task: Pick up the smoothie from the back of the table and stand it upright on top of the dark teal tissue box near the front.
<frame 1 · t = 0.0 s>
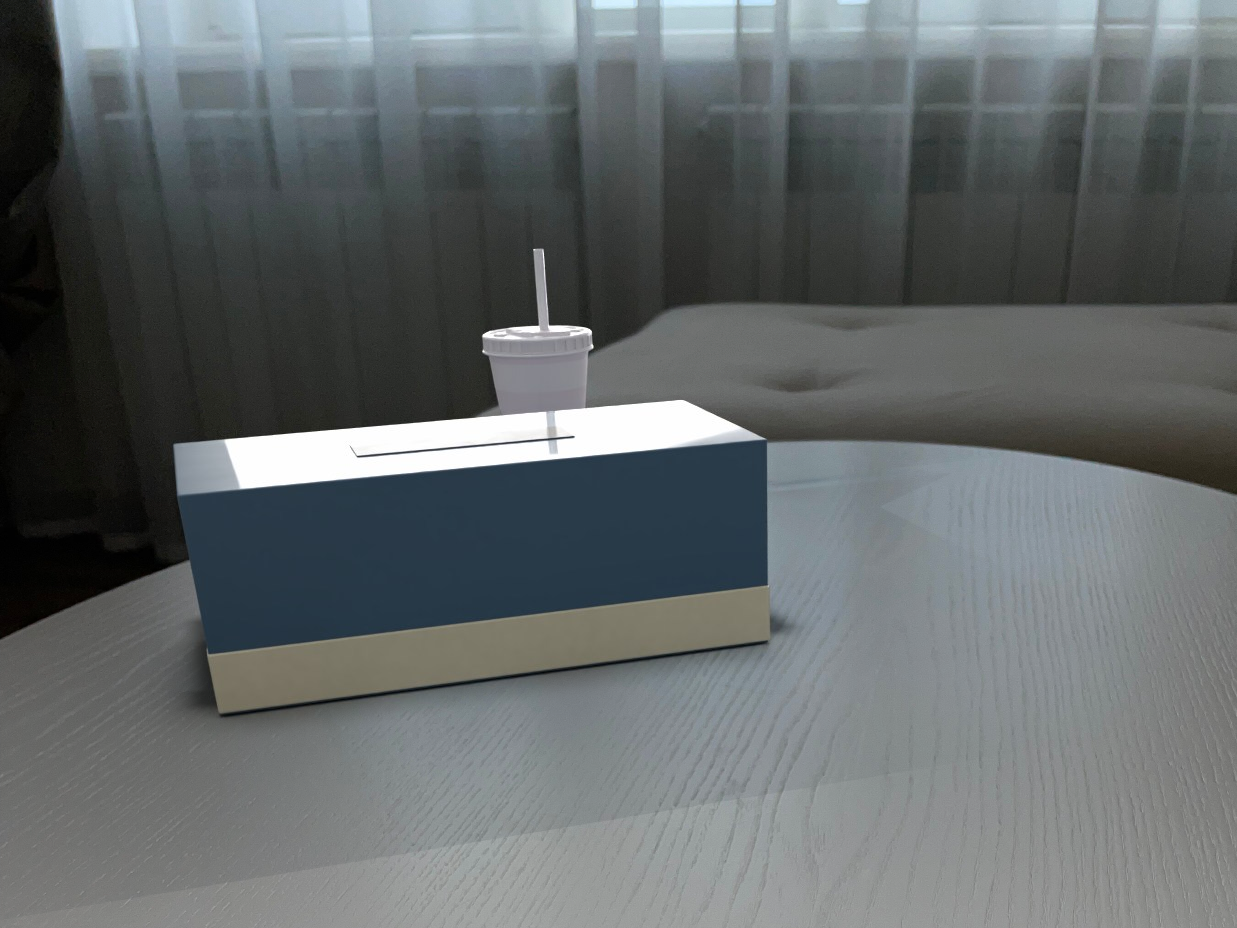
tissue box: (482, 639, 64), on the table
smoothie: (549, 506, 88), on the table
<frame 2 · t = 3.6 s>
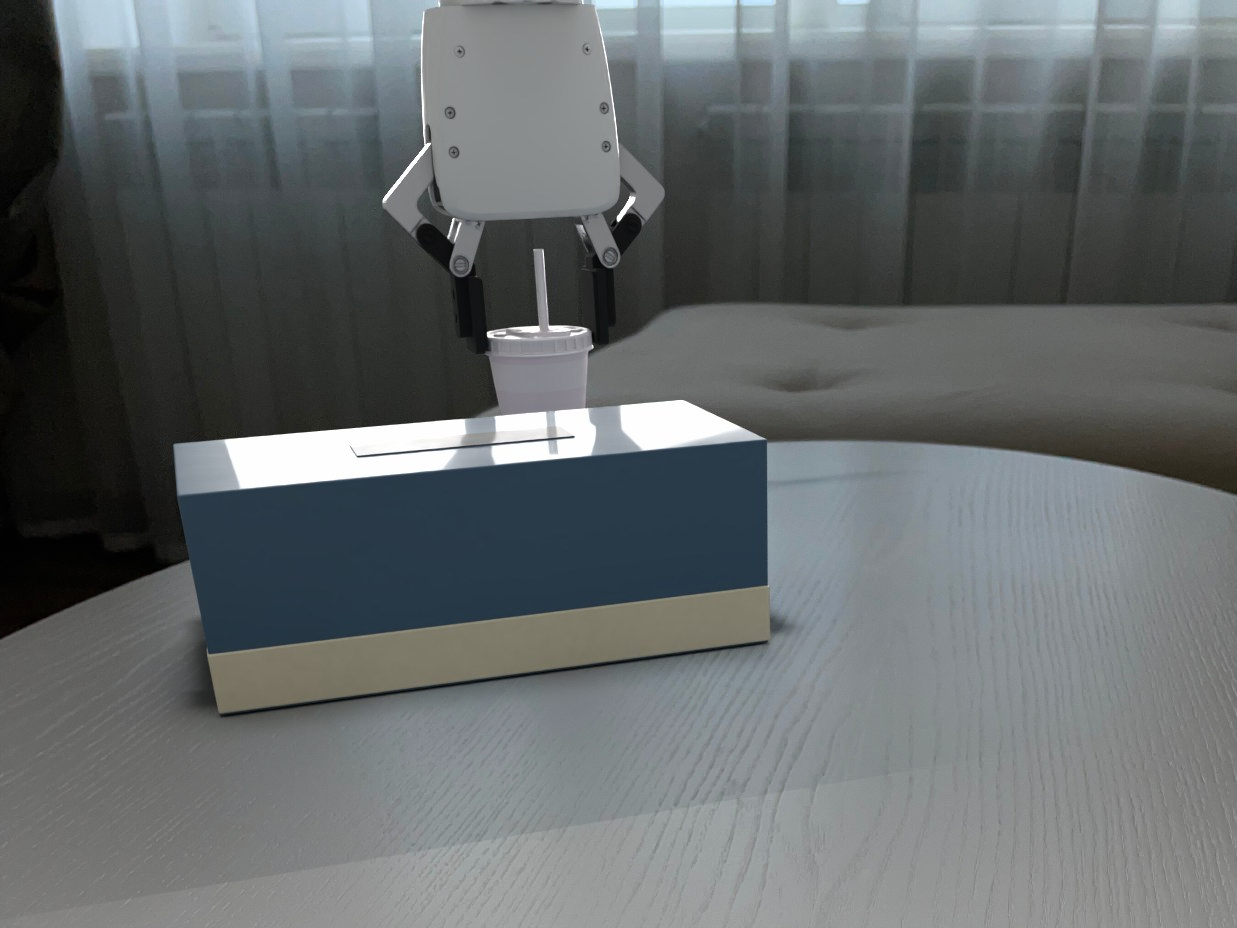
hand: (537, 343, 83), 9 cm above the table, tool pointing down, fingers closed on smoothie, 6 cm apart
smoothie: (549, 506, 88), on the table, touching gripper
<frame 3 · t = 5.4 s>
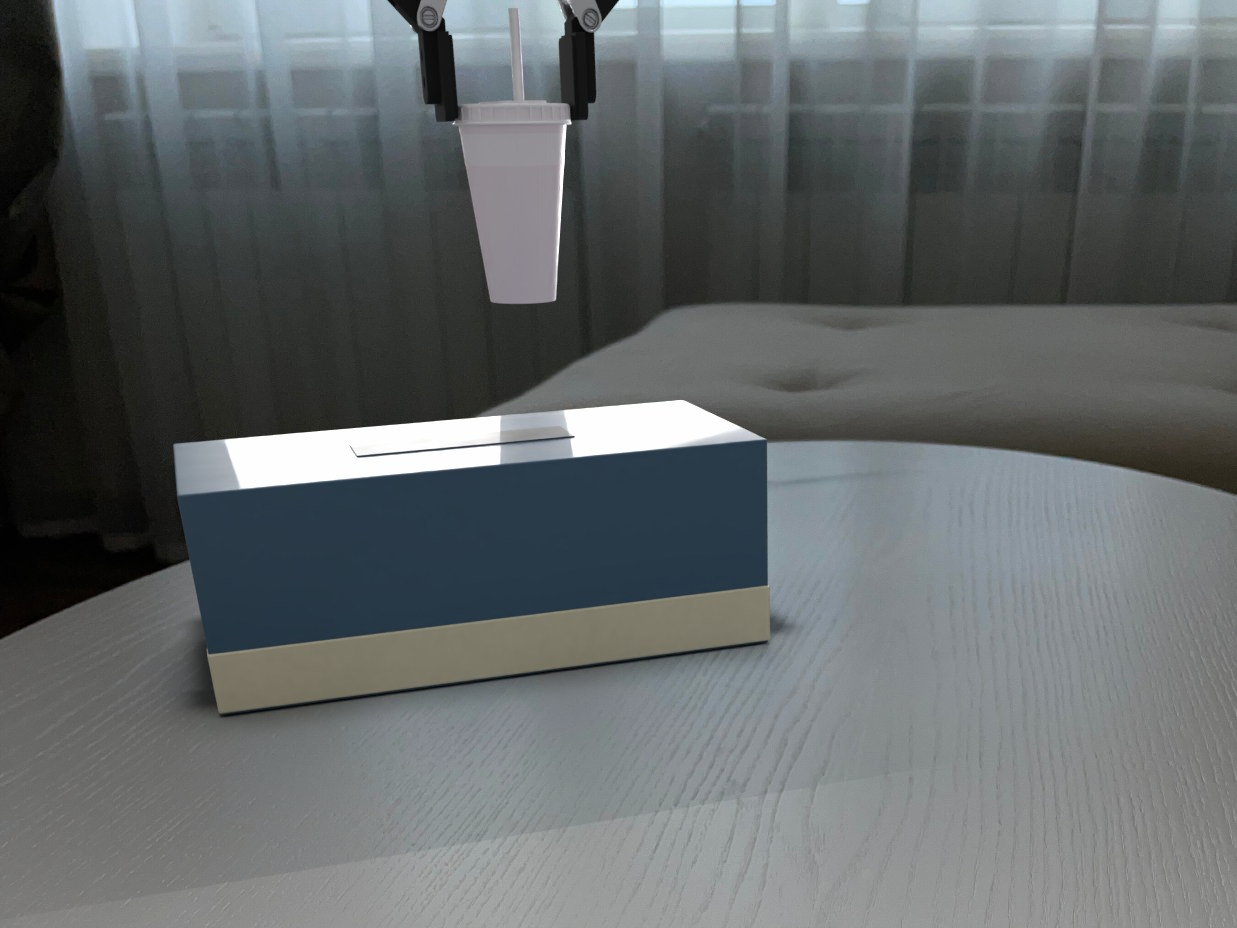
hand: (511, 116, 78), 20 cm above the table, tool pointing down, fingers closed on smoothie, 6 cm apart
smoothie: (523, 304, 82), point 11 cm above the table, touching gripper
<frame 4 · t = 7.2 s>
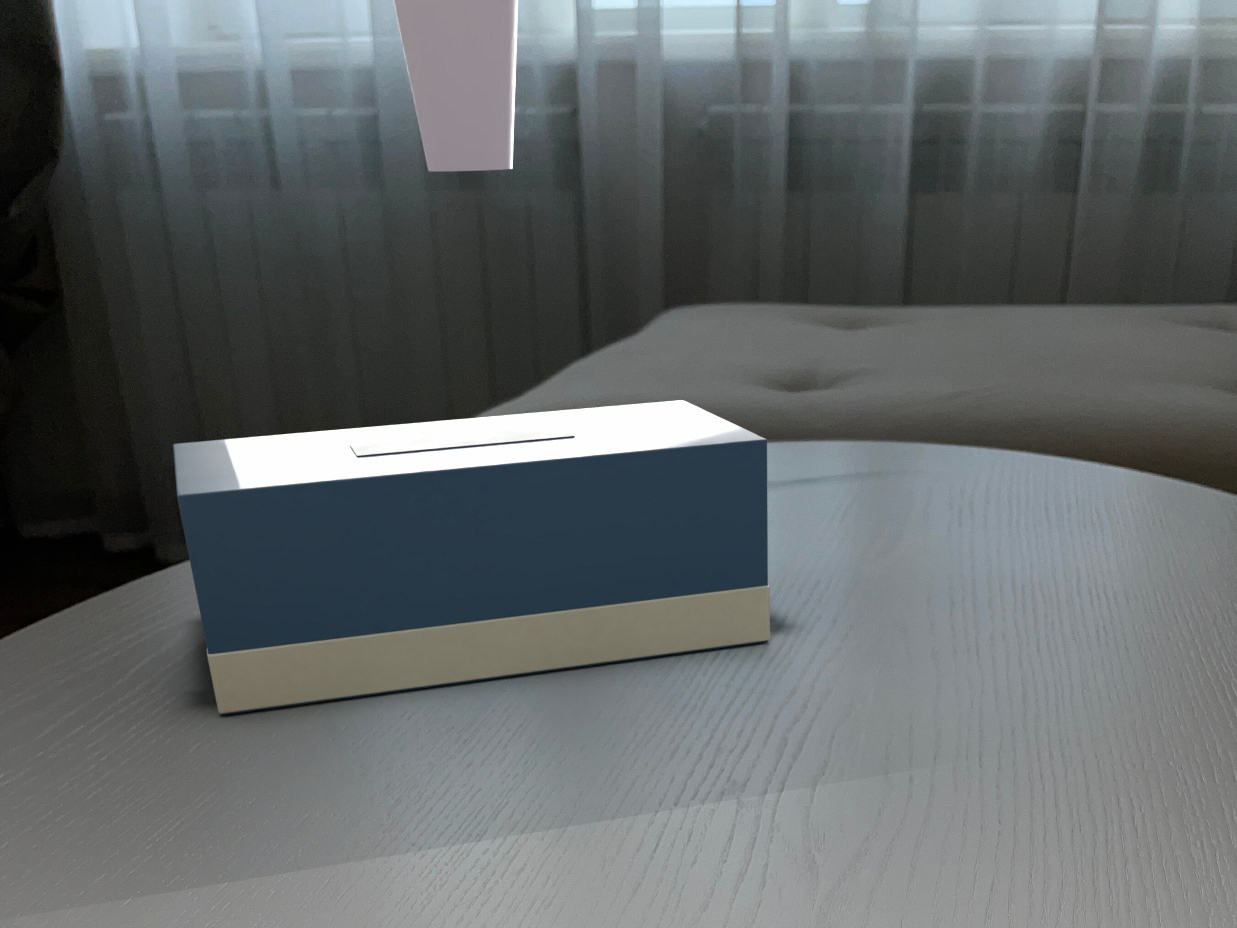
smoothie: (470, 174, 64), point 18 cm above the table, touching gripper
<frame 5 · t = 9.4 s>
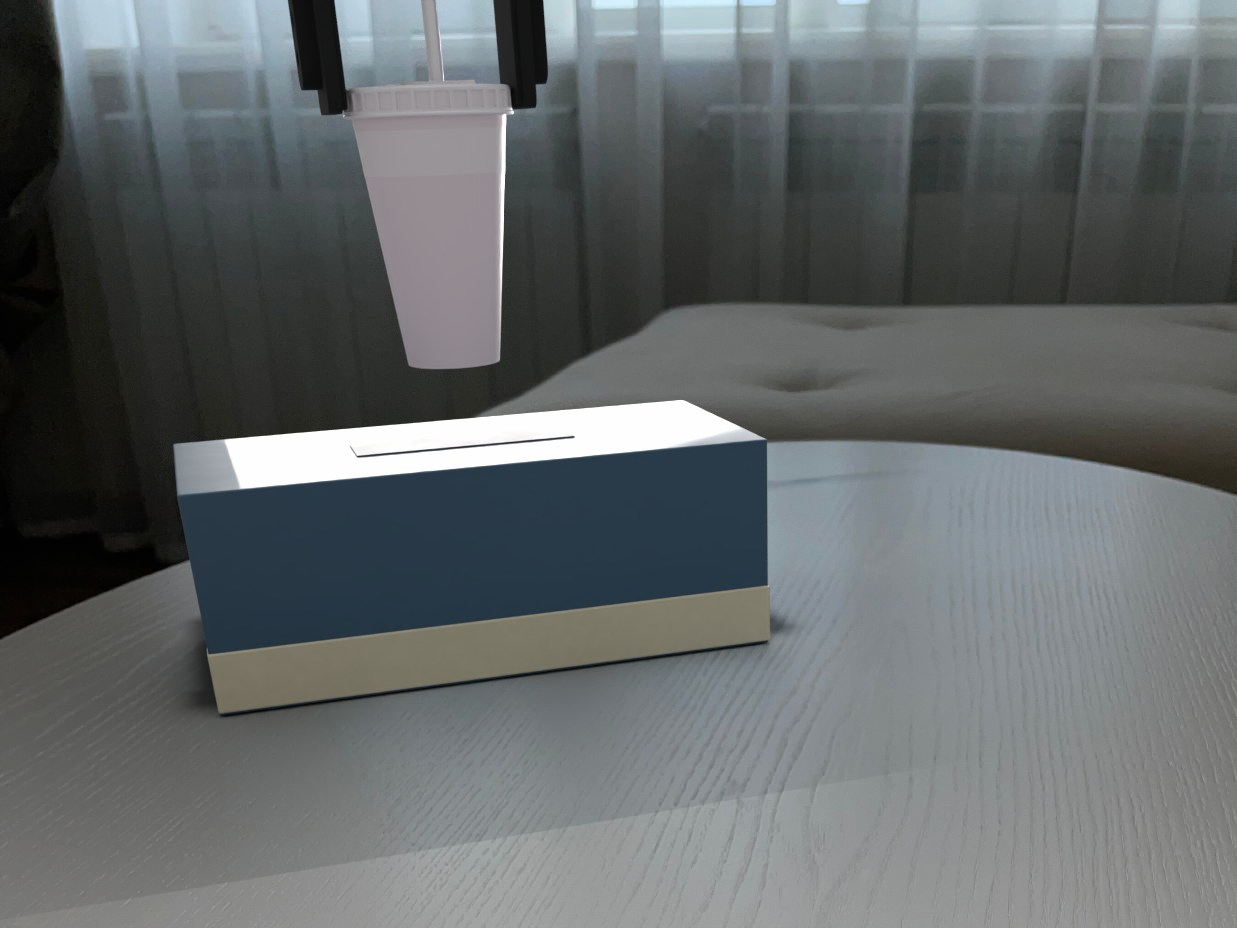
hand: (427, 106, 54), 21 cm above the table, tool pointing down, fingers closed on smoothie, 6 cm apart
smoothie: (454, 367, 59), point 11 cm above the table, touching gripper
when the fingers open (18 cm above the table, at t = 10.8 s): smoothie stays where it is, resting on tissue box.
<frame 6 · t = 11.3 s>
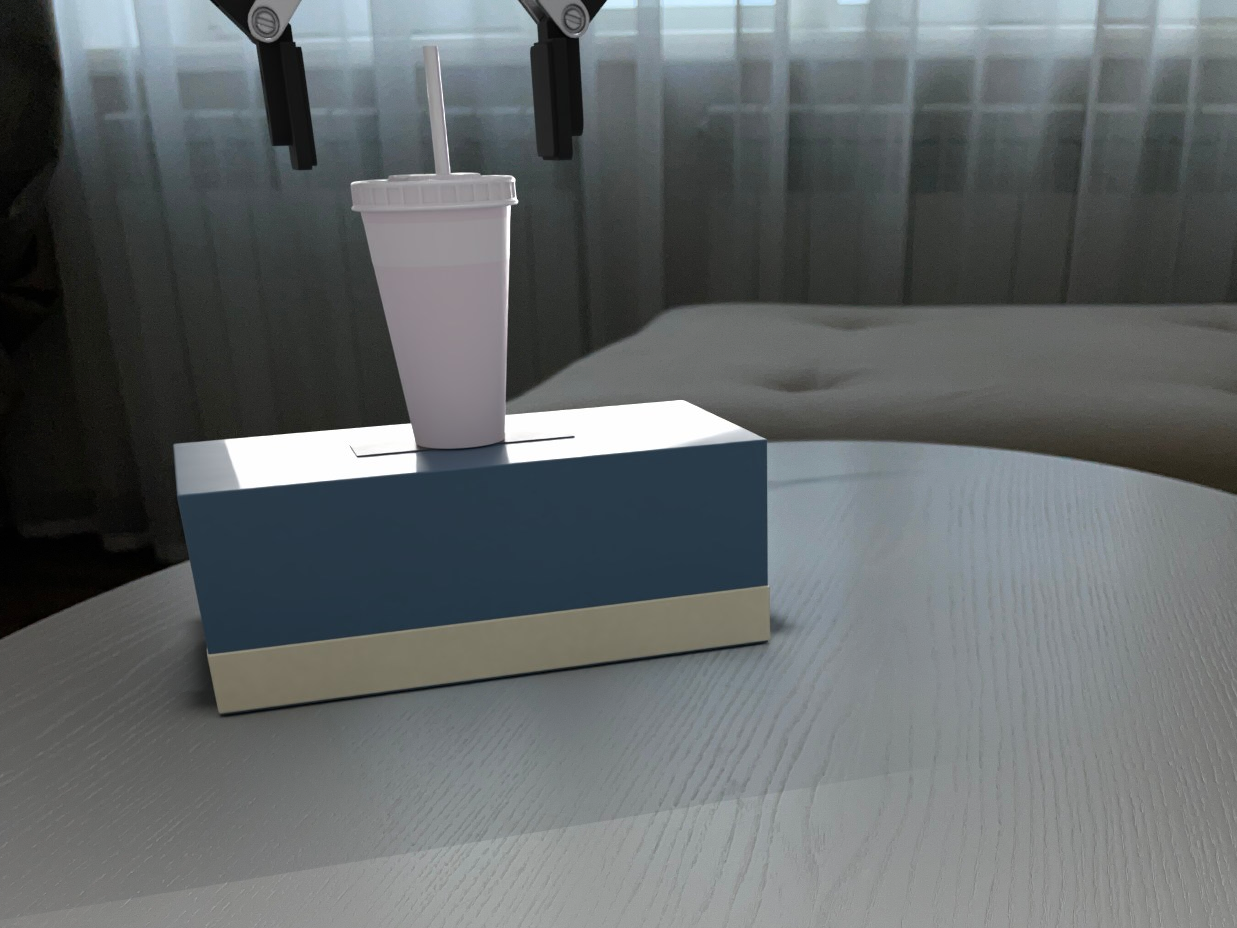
hand: (432, 164, 55), 19 cm above the table, tool pointing down, fingers open, 9 cm apart
smoothie: (460, 444, 60), point 8 cm above the table, touching tissue box
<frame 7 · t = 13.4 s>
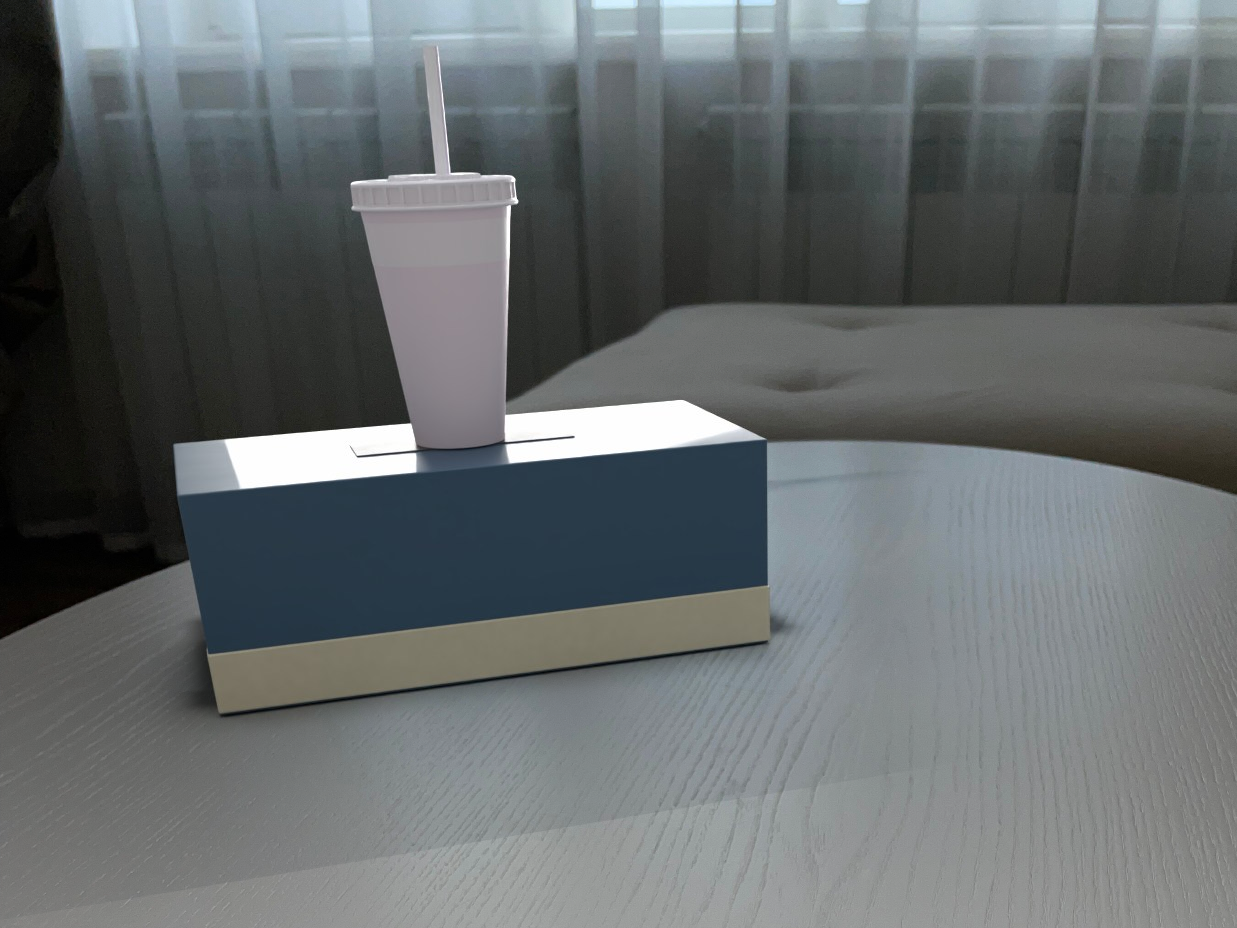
nothing on the table moved.
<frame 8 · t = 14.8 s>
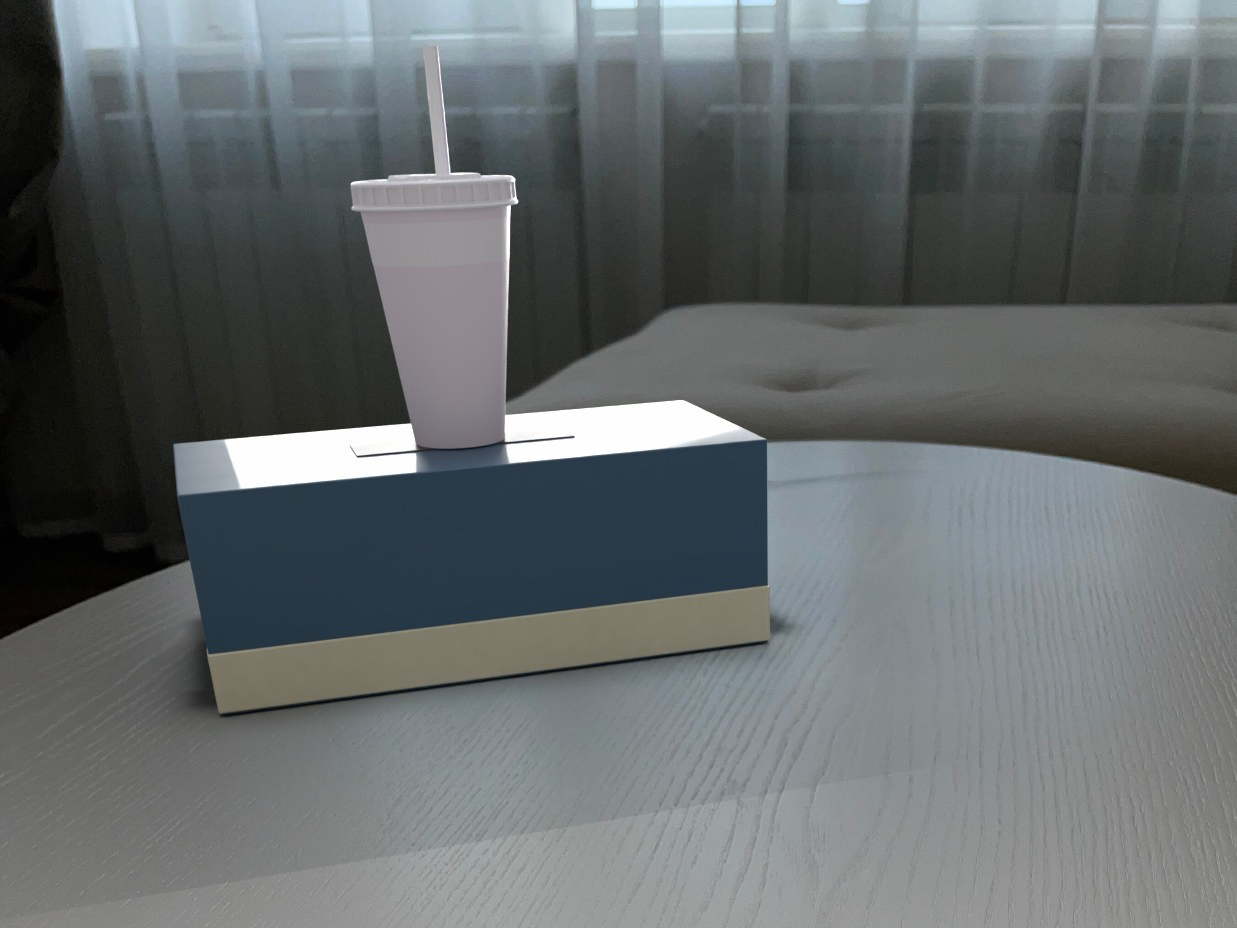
nothing on the table moved.
at the end: smoothie inside the target area on the tissue box (0.1 cm from its centre), point 8.4 cm above the tissue box's base; smoothie tilted 0°; the gripper is holding nothing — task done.
